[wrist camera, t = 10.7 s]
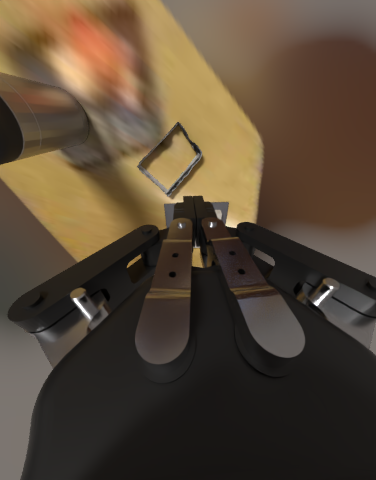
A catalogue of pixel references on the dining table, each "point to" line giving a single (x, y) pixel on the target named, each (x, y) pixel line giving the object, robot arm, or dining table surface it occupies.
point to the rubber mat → (217, 205)
